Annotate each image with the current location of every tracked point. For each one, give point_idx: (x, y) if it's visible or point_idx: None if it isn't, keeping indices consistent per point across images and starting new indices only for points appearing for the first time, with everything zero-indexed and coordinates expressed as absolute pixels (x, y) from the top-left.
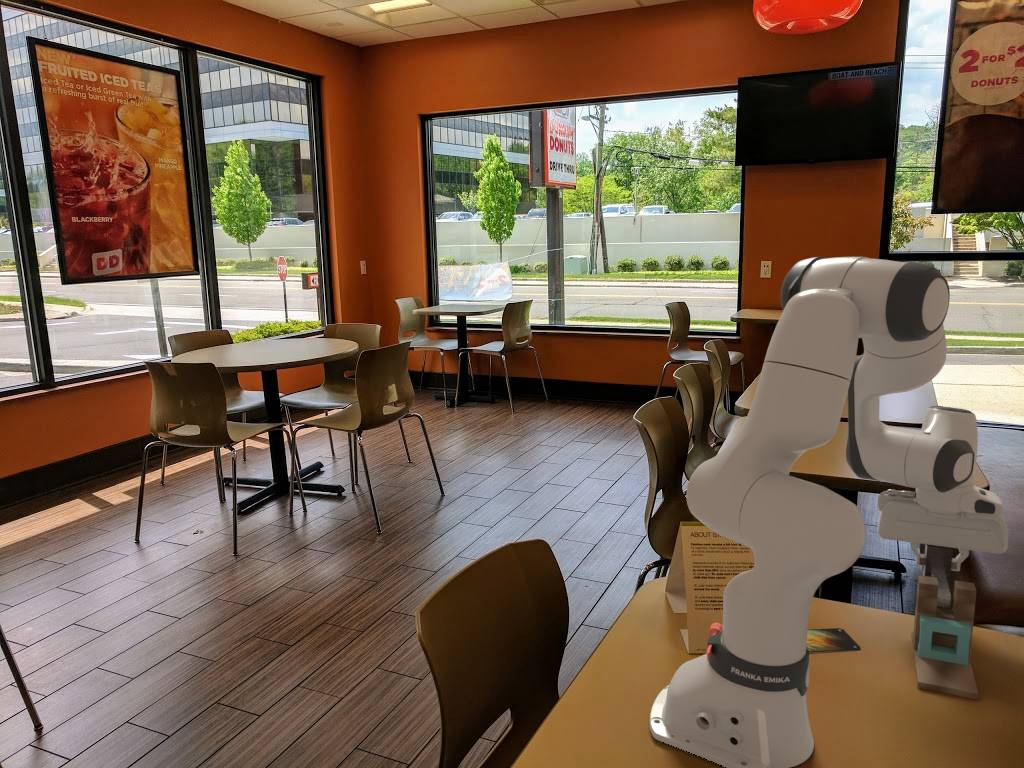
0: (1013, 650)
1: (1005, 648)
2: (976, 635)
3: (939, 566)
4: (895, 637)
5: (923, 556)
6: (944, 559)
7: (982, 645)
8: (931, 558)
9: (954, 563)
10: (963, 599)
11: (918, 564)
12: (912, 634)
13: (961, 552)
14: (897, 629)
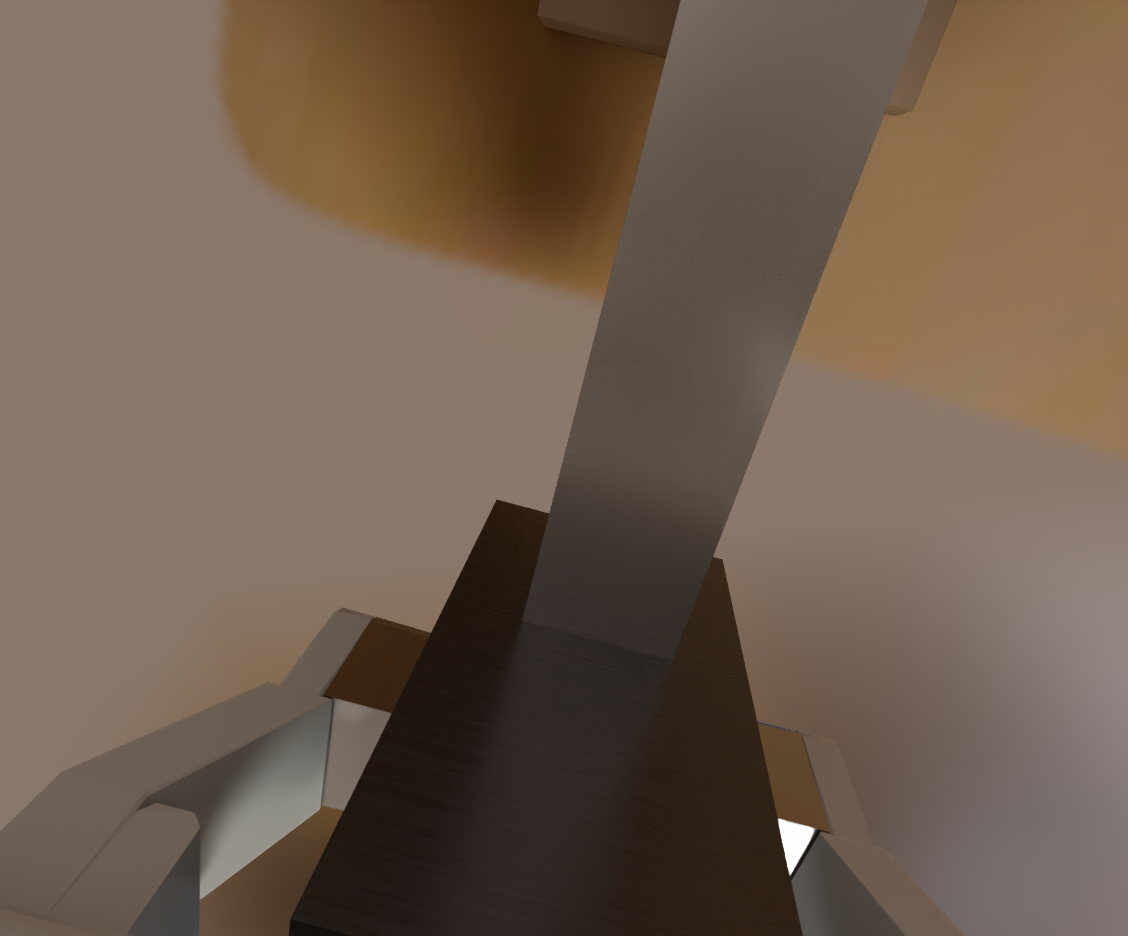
0: (230, 36)
1: (274, 58)
2: (414, 228)
3: (580, 659)
4: (1031, 89)
5: None
6: (501, 739)
7: (413, 76)
8: (696, 777)
9: (368, 686)
10: None
11: (812, 738)
12: (931, 57)
13: (155, 843)
14: (943, 233)
